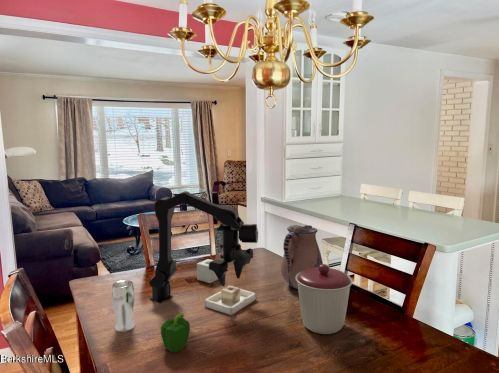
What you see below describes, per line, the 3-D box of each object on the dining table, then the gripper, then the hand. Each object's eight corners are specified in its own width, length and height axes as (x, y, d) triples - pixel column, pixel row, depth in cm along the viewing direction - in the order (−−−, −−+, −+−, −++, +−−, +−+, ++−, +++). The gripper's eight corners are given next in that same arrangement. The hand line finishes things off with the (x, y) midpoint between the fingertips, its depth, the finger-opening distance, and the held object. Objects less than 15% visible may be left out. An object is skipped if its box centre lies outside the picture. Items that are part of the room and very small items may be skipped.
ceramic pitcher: (328, 282, 157) (329, 225, 154) (310, 301, 139) (311, 237, 136) (291, 275, 166) (291, 221, 163) (269, 291, 148) (269, 231, 145)
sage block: (210, 283, 157) (209, 266, 156) (197, 279, 161) (196, 263, 161) (221, 278, 163) (220, 261, 162) (208, 274, 168) (208, 258, 167)
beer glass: (113, 324, 123) (111, 281, 121) (135, 320, 125) (133, 278, 123) (113, 334, 116) (111, 289, 114) (136, 330, 118) (134, 286, 117)
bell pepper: (161, 357, 103) (160, 324, 102) (161, 342, 111) (160, 311, 110) (191, 353, 105) (190, 320, 104) (189, 338, 113) (188, 308, 112)
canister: (287, 333, 115) (288, 269, 113) (303, 309, 132) (304, 253, 129) (346, 346, 108) (347, 278, 105) (355, 319, 124) (356, 259, 122)
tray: (231, 315, 128) (231, 308, 128) (204, 306, 135) (204, 299, 135) (256, 299, 141) (255, 293, 140) (230, 291, 148) (230, 286, 148)
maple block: (232, 305, 134) (231, 292, 134) (221, 302, 137) (221, 289, 137) (240, 300, 138) (239, 288, 138) (229, 297, 141) (229, 285, 141)
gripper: (232, 251, 123) (232, 295, 125) (262, 239, 138) (262, 278, 140) (207, 246, 129) (208, 288, 131) (238, 235, 144) (239, 273, 146)
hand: (230, 282), depth 137 cm, fingers open, 9 cm apart
